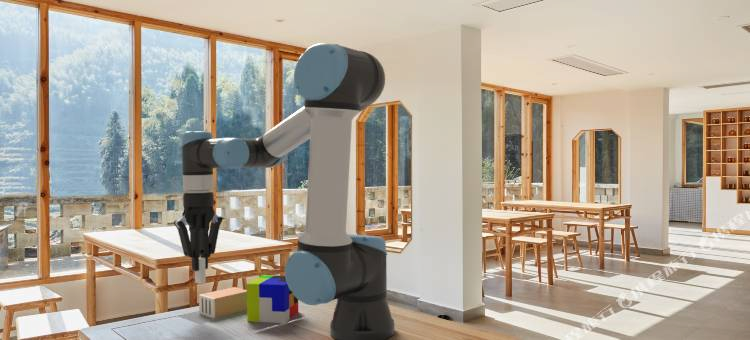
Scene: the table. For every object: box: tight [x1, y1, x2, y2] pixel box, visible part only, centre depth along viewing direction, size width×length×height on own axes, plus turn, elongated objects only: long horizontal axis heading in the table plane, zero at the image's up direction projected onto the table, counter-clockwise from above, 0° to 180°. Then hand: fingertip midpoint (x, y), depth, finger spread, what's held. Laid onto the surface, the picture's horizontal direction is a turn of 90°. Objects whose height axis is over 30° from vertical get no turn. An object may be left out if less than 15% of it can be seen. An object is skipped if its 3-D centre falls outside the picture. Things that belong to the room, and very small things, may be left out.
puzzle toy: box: [246, 274, 299, 326], centre depth 143 cm, size 10×10×10 cm
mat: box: [177, 310, 247, 325], centre depth 147 cm, size 11×16×1 cm
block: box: [198, 286, 247, 318], centre depth 149 cm, size 7×5×11 cm
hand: (200, 282), depth 143 cm, fingers closed
